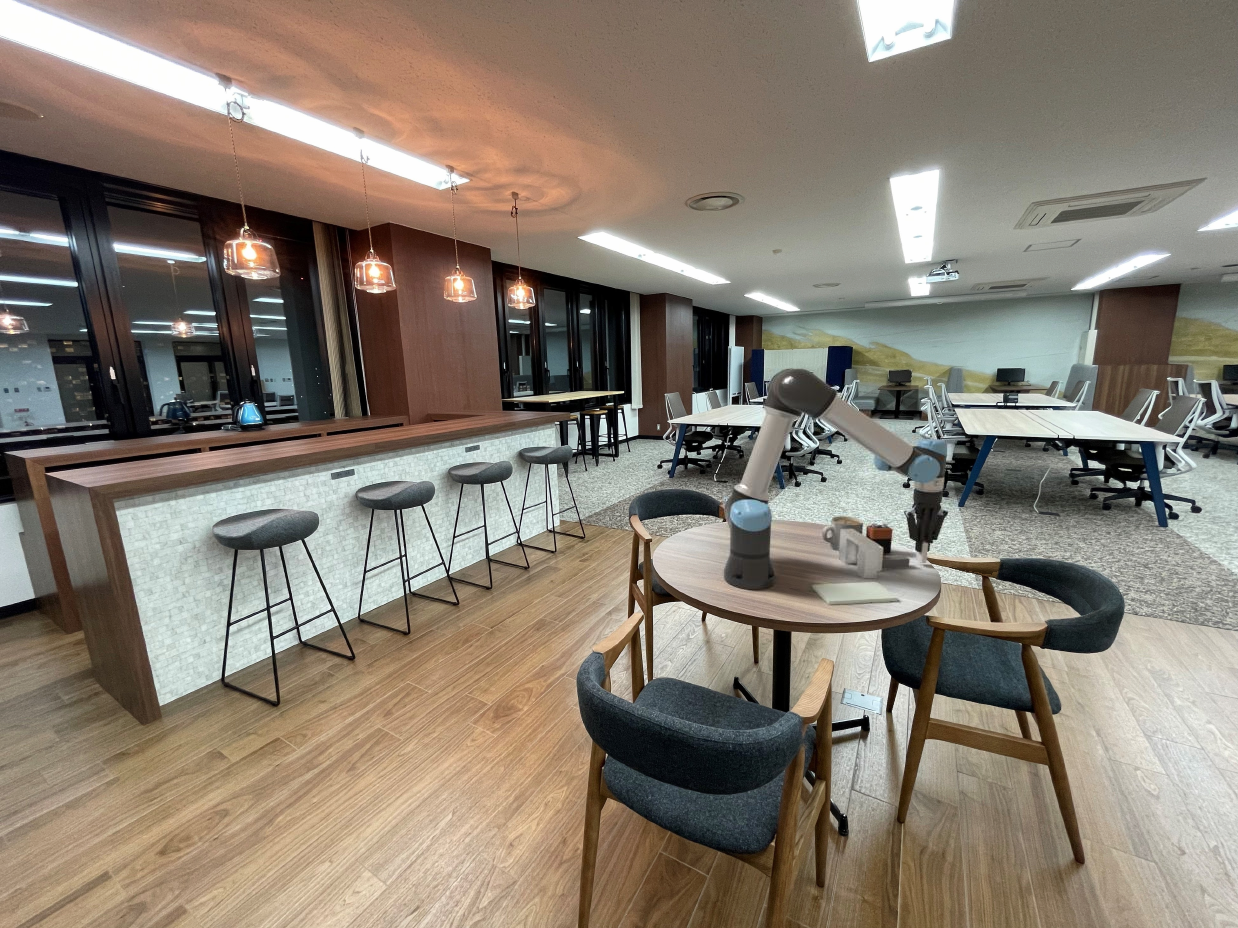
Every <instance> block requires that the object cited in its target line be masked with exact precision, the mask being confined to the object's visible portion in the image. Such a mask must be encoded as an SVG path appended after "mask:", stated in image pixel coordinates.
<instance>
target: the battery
mask: <svg viewBox="0 0 1238 928" xmlns="http://www.w3.org/2000/svg"><path fill="white" fill-rule="evenodd" d="M865 533H866V534H865V537H867V538H869V539H870V540H872V541H874V542H875V543H877V544H879V545H880V546H881V547H883V555H890V554H891V553H892V552H891V551H892V540H893V528H892V527H890V526H888V524H886V523H882V524H878V523H871V525H869V524H868V525H867V526H866V530H865Z"/></svg>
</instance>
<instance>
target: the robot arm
mask: <svg viewBox="0 0 1238 928" xmlns="http://www.w3.org/2000/svg"><path fill="white" fill-rule="evenodd" d="M763 408H764V412H765V415H764V418H763V421H762V424H761V426H760V429H759V432H758V435H757V438H756V440H755V443H754V446H753V448H752V451H751V454H750V456H749V460H748V462H747V465H746V468H745V471H744V472H743V473H744V474H743V475H742V479H741V481H740V483H738V484H736V485H734V487H733V490H732V492H731V494H730V496H729V497H728V498H727V499H726V501H725V503H724V507H723V512H724V513H723V514H724V517H725V520H726V522H727V524H728V527H729V531H730V535H729V539H730V540H729V542H730V543H729V554H728V558H727V560H726V563H725V565H724V567H723V579H724V581H725V582H726V583H728V584H730V585H732V586H733V587H737V588H740V589H745V590H763V589H768V588H771V587H772V586H774V584H775V583H776V572H775V568H774V566H773V563H772V560H771V533H772V531H771V530H772V519H773V517H772V516H773V515H772V510H771V508H770V506H769V505H768V504H769V502H770V497H769V495H768V489H769V487H770V483H771V482H772V479H773V476H774V474H775V471H776V468H777V466H778V463H779V460H780V458H781V456H782V453H783V450H784V447H785V445H786V443H787V440H788V437H789V435H790V431H791V429H792V427H793V424H794V422H795V421H797V420H799V419H801V417H802V415H803V414H805V415H806V416H808V417H810V418H811V419H813V420H815V421H816V420H821V421H823V422H824V423H826V425H829V426H830V427H832V428H833V429H835V430H836V431H838V432H840V433H841V434H842V435H844V436H845V437H847V438H848V439H850V440H851V441H853V442H854V443H856V444H858V445H859V446H860V447H862V448H863V449H865V450H866V451H868V452H869V453H871V454H873V455H874V456H873V462H874V466H875V468H876V469H877V470H878V471H881V472H895V473H897V474H899V475H901V476H904V477H907V478H909V479H911V480H912V481H913V482H914V483H913V487H914V489H913V496H912V499H913V504H912V506H911V509H908V510H904V511H903V514H904V515H905V517H906V522H907V529H908V536H909V539H911V541H914V542H915V545H914V546H915V547H914V550H915V551H916V554H915V556H916V557H915V560H916V561H918V562H919V563H920V564H926V563H927V561H928V560H927V558H928V553H929V552H930V551H931V549H930V548H931V544H934V541H937V540H938V538H939V536H940V532H941V530H942V527H943V524H944V521H945V518H946V517H947V516H948V514H949V511H948V510H945V509H943V508H942V505H941V503H942V502H943V496H944V495H943V494H944V492H943V489H944V483H945V475H946V474H945V473H946V467H947V459H948V458H947V457H948V443H947V441H945V440H942V439H939V438H937V439H935V438H921V439H919V440H918V441H917V442H918V443H917V444H916V445H915V446H912V445H911V444H910V443H908V442H906V441H905V440H904V439H902V438H901V437H899V436H898V435H896V433H895V434H894V432H892V431H890V430H889V429H887V428H886V427H884V426H883V425H882V424H880V423H878V422H877V421H875V420H874V419H872V418H871V417H869V416H868V415H866V414H865V413H863V412H862V411H860V410H859V409H857V408H856V407H854V406H853V405H851V404H850V403H848V402H847V401H845V400H843V399H842V398H840V397H839V393H838V391H837V390H836V389H834V388H833V387H831V385H829V384H828V383H826V382H825V381H824V380H822V379H821V378H820V377H818V376H817V375H815V373H813V372H811V371H810V370H807V369H805V368H793V367H792V368H790V367H789V368H785V369H781V370H780V371H777V372H776V373H775V374H774V375H773V376H772V377H771V378H770V380H769V382H768V386H767V395H766V397H765V400H764V404H763Z"/></svg>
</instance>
